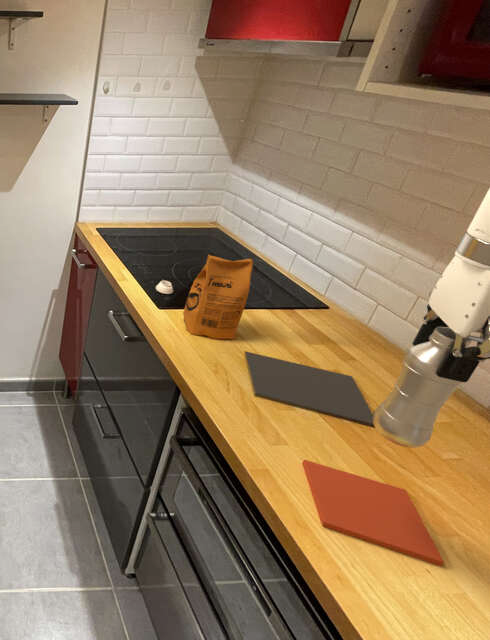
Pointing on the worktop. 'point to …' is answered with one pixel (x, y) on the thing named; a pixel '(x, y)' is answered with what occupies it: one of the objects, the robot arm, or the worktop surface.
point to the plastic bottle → (417, 392)
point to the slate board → (308, 388)
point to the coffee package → (218, 298)
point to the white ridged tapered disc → (164, 287)
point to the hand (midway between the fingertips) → (437, 361)
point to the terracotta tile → (370, 511)
